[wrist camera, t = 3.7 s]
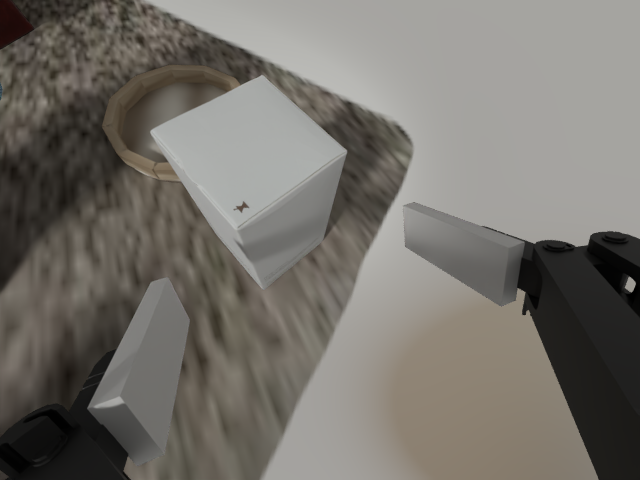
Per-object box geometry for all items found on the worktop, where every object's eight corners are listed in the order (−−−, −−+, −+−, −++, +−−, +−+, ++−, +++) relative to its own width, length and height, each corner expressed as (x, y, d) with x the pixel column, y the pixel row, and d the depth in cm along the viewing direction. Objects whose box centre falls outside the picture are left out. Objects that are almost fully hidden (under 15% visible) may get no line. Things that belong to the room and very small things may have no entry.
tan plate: (104, 184, 30) (89, 171, 28) (129, 80, 37) (118, 63, 35) (255, 180, 33) (253, 168, 30) (254, 82, 39) (252, 66, 37)
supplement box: (326, 240, 31) (354, 150, 17) (263, 292, 28) (235, 234, 14) (276, 188, 33) (264, 69, 19) (212, 231, 30) (143, 127, 16)
